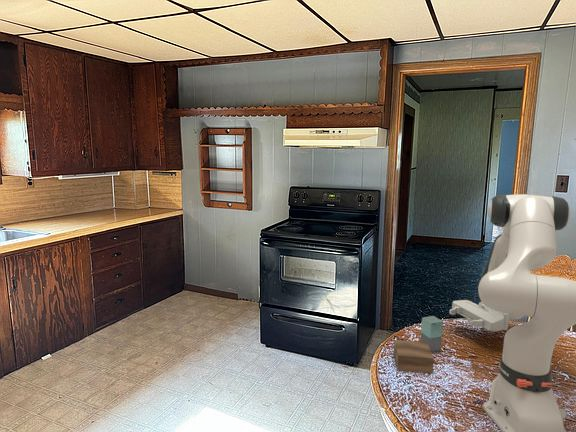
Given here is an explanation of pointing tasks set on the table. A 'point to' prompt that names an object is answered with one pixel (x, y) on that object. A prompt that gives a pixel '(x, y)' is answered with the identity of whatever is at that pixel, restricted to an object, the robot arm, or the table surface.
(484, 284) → the robot arm
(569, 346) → the table surface
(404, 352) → the walnut stand
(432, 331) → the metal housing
